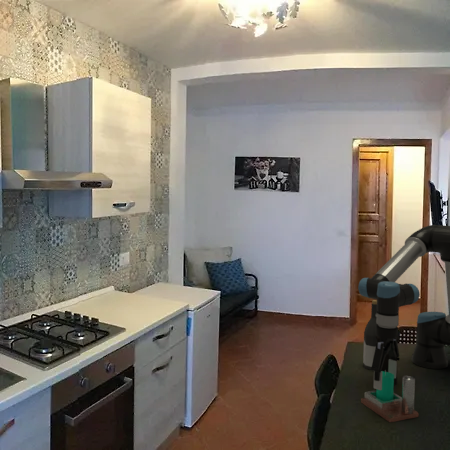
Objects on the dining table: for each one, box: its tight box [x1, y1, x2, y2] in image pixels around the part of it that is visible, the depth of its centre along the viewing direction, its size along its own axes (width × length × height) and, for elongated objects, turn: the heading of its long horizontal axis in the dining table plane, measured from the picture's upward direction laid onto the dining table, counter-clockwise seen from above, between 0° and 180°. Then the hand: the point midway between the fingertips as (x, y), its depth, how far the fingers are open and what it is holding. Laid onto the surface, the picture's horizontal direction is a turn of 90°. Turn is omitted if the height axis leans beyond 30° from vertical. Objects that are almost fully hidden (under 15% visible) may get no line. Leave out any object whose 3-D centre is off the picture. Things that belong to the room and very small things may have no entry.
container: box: [376, 335, 400, 386], centre depth 195 cm, size 9×9×20 cm
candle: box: [376, 370, 395, 401], centre depth 173 cm, size 6×6×12 cm
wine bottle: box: [362, 299, 377, 371], centre depth 210 cm, size 8×8×30 cm
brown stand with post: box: [360, 375, 420, 423], centre depth 171 cm, size 12×16×14 cm
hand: (385, 383), depth 173 cm, fingers open, 13 cm apart
